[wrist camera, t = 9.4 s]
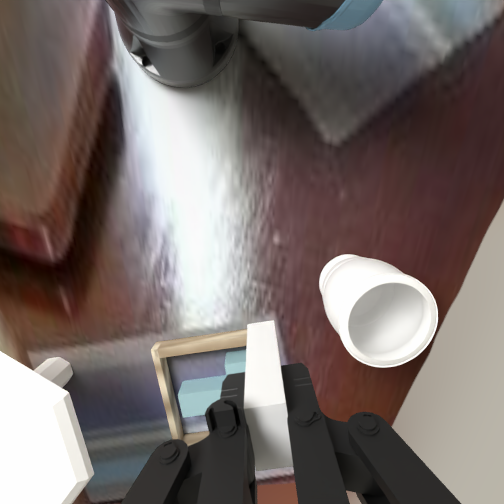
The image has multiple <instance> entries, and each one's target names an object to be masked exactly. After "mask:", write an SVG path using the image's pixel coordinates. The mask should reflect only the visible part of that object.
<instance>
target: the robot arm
mask: <svg viewBox="0 0 504 504" xmlns="http://www.w3.org/2000/svg"><path fill="white" fill-rule="evenodd" d="M105 1H106V2H107V3H108V4H109V6H110V7H111V8H112V9H113V11H114V12H115V16H116V21H117V25H118V29H119V33H120V36H121V38H122V41H123V43H124V45H125V47H126V49H127V50H128V52H129V54H130V55H131V56H132V58H133V59H134V60H135V61H136V63H137V64H138V65H139V66H140V67H141V68H142V69H143V70H144V71H145V72H146V73H147V74H148V75H149V76H151V77H152V78H154V79H155V80H157V81H159V82H161V83H163V84H166V85H169V86H173V87H182V88H185V87H194V86H198V85H201V84H203V83H205V82H207V81H209V80H211V79H212V78H214V77H215V76H216V75H218V74H219V73H220V72H221V71H222V70H223V68H224V67H225V66H226V65H227V63H228V62H229V60H230V58H231V56H232V54H233V52H234V50H235V47H236V43H237V39H238V32H239V19H245V20H253V21H261V22H269V23H277V24H285V25H293V26H301V27H305V28H306V29H308V30H310V31H316V30H321V29H332V30H349V29H351V28H355V27H357V26H359V25H361V24H362V23H364V22H365V21H366V20H367V19H368V18H369V17H370V16H371V15H372V14H373V13H374V12H375V11H376V9H377V8H378V7H379V6H380V4H381V3H382V1H383V0H105ZM205 416H206V421H207V425H208V429H209V435H208V436H207V437H206V438H204V439H203V440H201V441H199V442H197V443H194V444H192V445H190V446H188V445H187V444H186V443H185V442H184V441H183V440H180V439H173V440H169V441H167V442H164V443H163V444H161V445H160V446H159V447H157V449H156V450H155V451H154V452H153V453H152V455H151V456H150V458H149V460H148V461H147V463H146V464H145V466H144V468H143V469H142V471H141V473H140V474H139V476H138V477H137V479H136V481H135V482H134V484H133V485H132V487H131V489H130V490H129V492H128V493H127V495H126V497H125V498H124V500H123V501H122V503H121V504H257V483H256V478H255V467H256V471H261V470H268V469H276V468H283V467H291V466H293V468H294V475H295V482H296V489H297V496H298V504H350V503H349V500H348V496H347V493H346V490H347V491H352V492H356V494H357V497H358V498H359V500H360V502H361V503H362V504H461V503H460V502H459V501H458V500H457V499H456V498H455V496H454V495H453V494H452V493H451V492H450V491H449V490H448V489H447V488H446V486H445V485H444V484H443V483H442V482H441V481H440V480H439V479H438V478H437V477H436V476H435V474H433V472H432V471H431V470H430V469H429V468H428V467H427V466H426V465H425V463H424V462H423V461H422V460H421V459H420V458H419V457H418V456H417V455H416V454H415V453H414V451H413V450H412V449H411V448H410V447H409V446H408V445H407V444H406V443H405V442H404V441H403V439H402V438H401V437H400V436H399V435H398V434H397V433H396V432H395V431H394V430H393V429H392V427H391V426H390V425H389V424H388V423H387V422H386V421H385V420H384V419H383V418H381V417H380V416H379V415H376V414H374V413H369V412H360V413H356V414H354V415H353V416H351V417H350V419H349V420H348V422H341V421H336V420H332V419H330V418H328V417H327V416H325V415H324V414H323V413H322V412H321V410H320V408H319V405H318V402H317V398H316V395H315V391H314V388H313V384H312V381H311V378H310V374H309V371H308V368H307V367H305V366H304V365H303V364H302V363H297V364H290V365H283V366H281V361H280V355H279V349H278V343H277V337H276V331H275V325H274V320H273V321H266V322H260V323H253V324H248V326H247V348H246V370H245V372H241V373H234V374H228V375H227V376H226V378H225V379H224V381H223V382H222V388H221V395H220V399H219V400H217V401H215V402H213V403H212V404H211V405H210V406H209V407H208V408H207V410H206V412H205Z"/></svg>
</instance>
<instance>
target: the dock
mask: <svg viewBox="0 0 504 504" xmlns="http://www.w3.org/2000/svg"><path fill="white" fill-rule="evenodd" d="M241 346H247V329H243V330H237V331H230V332H223V333H216V334H209V335H202V336H195V337H188V338H181V339H174V340H167V341H160V342H156V343H155V345H154V346H153V348H152V349H151V353H152V357H153V361H154V365H155V369H156V373H157V378H158V382H159V386H160V390H161V394H162V398H163V402H164V406H165V411H166V415H167V419H168V423H169V427H170V431H171V435H172V439H180V440H183V441H184V442H185V443H186V444H187V445H188V446H190V445H192V444H194V443H197V442H199V441H201V440H203V439H204V438H206V437H207V436H208V435H209V431H204V432H197V433H189V434H184V433H183V429H182V424H181V420H180V416H179V411H178V407H177V403H176V398H175V394H174V390H173V386H172V381H171V377H170V373H169V368H168V364H167V360H166V357H171V356H178V355H185V354H192V353H199V352H206V351H213V350H220V349H227V348H234V347H241Z"/></svg>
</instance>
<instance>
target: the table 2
mask: <svg viewBox="0 0 504 504" xmlns="http://www.w3.org/2000/svg"><path fill="white" fill-rule="evenodd" d="M72 375H73V371H72V368H71V364H70V363H69V362H67V361H66V360H64V359H62V358H61V357H55V358H49V359H47V360H46V361H45V362H43V363H42V364H41V365H40V366H38V367H37V368H36V369H35V370H34V371H32V370H31V369H29V368H27V367H26V366H24V365H22V364H21V363H19V362H17V361H16V360H14V359H12V358H11V357H9V356H7V355H6V354H4V353H2V352H1V351H0V504H72V503H73V502H74V500H75V499H76V498H77V496H78V495H79V494H80V492H81V491H82V490H83V488H84V487H85V486H86V484H87V483H88V482H89V480H90V479H91V478H92V476H93V475H94V471H93V468H92V464H91V461H90V458H89V455H88V451H87V448H86V445H85V442H84V439H83V435H82V432H81V429H80V426H79V423H78V419H77V416H76V413H75V410H74V407H73V403H72V400H71V397H70V394H69V392H68V391H66V390H64V389H62V388H63V387H64V386H65V385H66V384H67V382H68V381H69V380H70V378H71V377H72Z"/></svg>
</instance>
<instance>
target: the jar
mask: <svg viewBox="0 0 504 504" xmlns="http://www.w3.org/2000/svg"><path fill="white" fill-rule="evenodd" d="M319 287H320V291H321V294H322V297H323V302H324V307H325V311H326V314H327V317H328V319H329V321H330V323H331V324H332V326H333V327H334V329H335V330H336V331H337V333H338V334H339V335H340V338H341V340H342V342H343V344H344V346H345V348H346V349H347V351H348V352H349V353H350V354H351V355H352V356H353V357H354V358H356V359H357V360H358V361H360V362H362V363H364V364H367V365H370V366H374V367H393V366H397V365H401V364H403V363H406V362H408V361H410V360H412V359H413V358H415V357H416V356H417V355H419V354H420V353H421V352H422V351H423V350H424V349H425V348H426V347H427V345H428V344H429V343H430V341H431V339H432V338H433V335H434V333H435V330H436V327H437V322H438V310H437V305H436V302H435V299H434V297H433V295H432V294H431V292H430V291H429V290H428V288H427V287H426V286H425V285H423V284H422V283H421V282H420V281H418V280H417V279H415V278H413V277H411V276H409V275H406V274H404V273H402V272H401V271H400V270H398V269H397V268H395V267H394V266H392V265H390V264H388V263H385V262H383V261H380V260H376V259H371V258H365V257H360V256H357V255H352V254H346V255H341V256H338V257H336V258H334V259H332V260H331V261H330V262H329V263H328V264H327V265H326V266H325V267H324V269H323V270H322V272H321V275H320V279H319Z"/></svg>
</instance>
